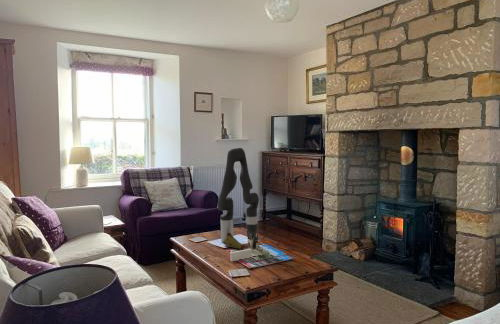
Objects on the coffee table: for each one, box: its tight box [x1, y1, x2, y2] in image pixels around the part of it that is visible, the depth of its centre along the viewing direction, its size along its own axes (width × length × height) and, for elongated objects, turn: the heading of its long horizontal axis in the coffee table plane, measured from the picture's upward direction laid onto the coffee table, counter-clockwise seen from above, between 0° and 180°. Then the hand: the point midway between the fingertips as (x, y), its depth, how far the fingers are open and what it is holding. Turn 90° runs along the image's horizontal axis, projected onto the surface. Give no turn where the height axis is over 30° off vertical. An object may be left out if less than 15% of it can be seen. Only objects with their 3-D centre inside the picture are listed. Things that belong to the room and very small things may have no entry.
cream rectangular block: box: [229, 248, 252, 262], centre depth 228 cm, size 2×14×6 cm, turn 114°
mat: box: [243, 247, 264, 257], centre depth 240 cm, size 16×7×1 cm, turn 24°
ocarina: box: [222, 233, 245, 250], centre depth 251 cm, size 20×5×10 cm, turn 50°
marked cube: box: [247, 238, 259, 250], centre depth 240 cm, size 5×5×6 cm
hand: (252, 247), depth 240 cm, fingers closed on marked cube, 5 cm apart
